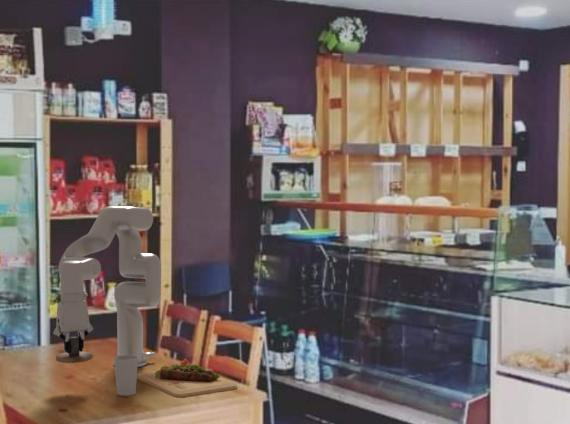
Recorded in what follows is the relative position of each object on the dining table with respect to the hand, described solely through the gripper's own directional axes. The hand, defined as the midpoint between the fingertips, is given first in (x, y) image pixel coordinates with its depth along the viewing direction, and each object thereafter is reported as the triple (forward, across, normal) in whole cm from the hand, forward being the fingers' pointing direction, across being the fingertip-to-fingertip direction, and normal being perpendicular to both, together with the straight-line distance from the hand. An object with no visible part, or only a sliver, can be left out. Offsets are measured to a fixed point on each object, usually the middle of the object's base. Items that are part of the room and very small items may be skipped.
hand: (74, 351), depth 309 cm
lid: (+3, 0, 0) cm, 3 cm away
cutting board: (+15, -36, +10) cm, 40 cm away
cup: (+14, -13, +13) cm, 23 cm away
